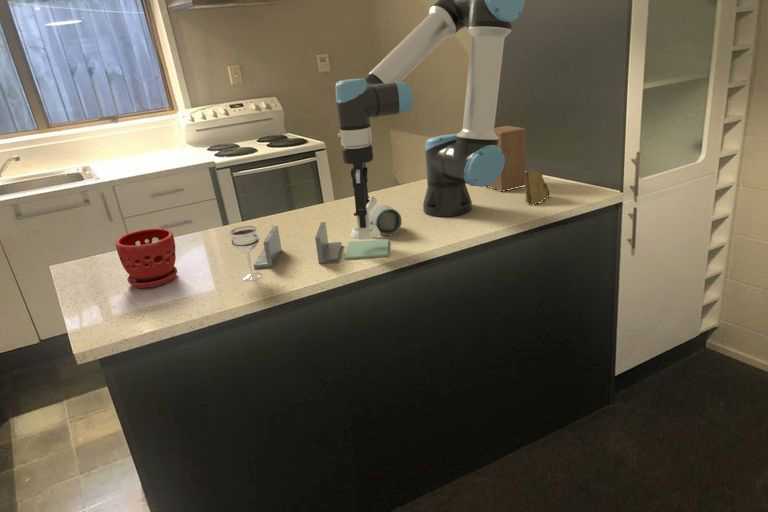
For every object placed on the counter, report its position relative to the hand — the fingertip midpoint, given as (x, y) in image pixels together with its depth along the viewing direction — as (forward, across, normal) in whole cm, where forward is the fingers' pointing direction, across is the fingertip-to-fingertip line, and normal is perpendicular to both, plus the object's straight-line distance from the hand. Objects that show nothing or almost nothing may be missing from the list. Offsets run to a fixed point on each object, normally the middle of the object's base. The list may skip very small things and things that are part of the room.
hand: (365, 233), depth 139 cm
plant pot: (+5, +10, -53) cm, 54 cm away
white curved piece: (0, 0, 0) cm, 0 cm away
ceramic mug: (+5, -13, +4) cm, 15 cm away
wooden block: (+5, -51, +46) cm, 69 cm away
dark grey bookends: (+5, +1, -18) cm, 19 cm away
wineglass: (+5, +12, -28) cm, 31 cm away
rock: (+5, -32, +53) cm, 62 cm away
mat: (+5, 0, 0) cm, 5 cm away
